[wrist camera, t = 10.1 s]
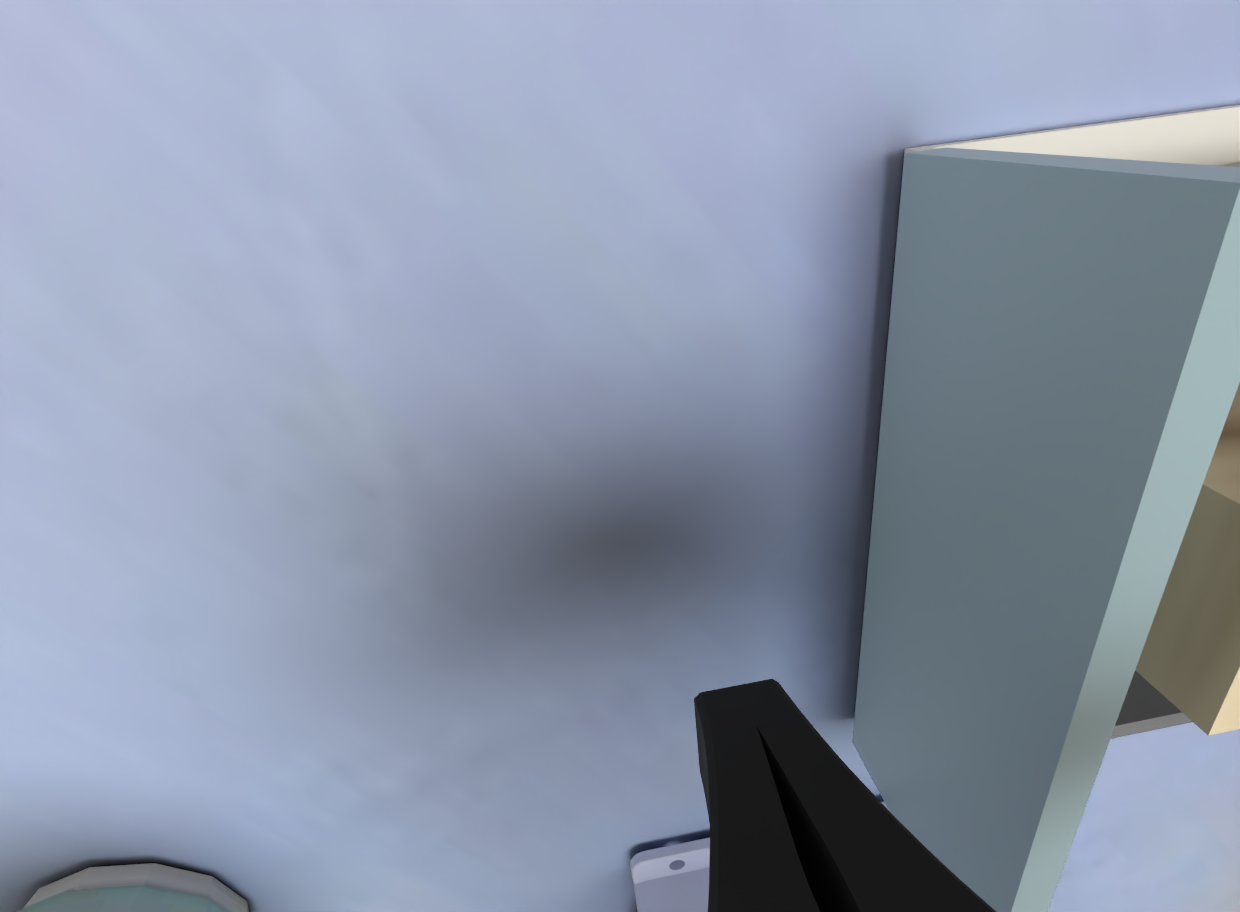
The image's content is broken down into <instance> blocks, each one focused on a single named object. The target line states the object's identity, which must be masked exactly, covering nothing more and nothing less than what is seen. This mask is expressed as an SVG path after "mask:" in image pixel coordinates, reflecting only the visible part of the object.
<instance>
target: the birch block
mask: <svg viewBox="0 0 1240 912" xmlns="http://www.w3.org/2000/svg"><path fill="white" fill-rule="evenodd" d="M1135 671H1137V672H1138V673H1139V674H1140V675H1141V676H1142V677H1143V678H1144V679H1146V680H1147V681H1148V682H1149V683H1150V684H1151V685H1152V686H1153V687H1155V688H1156V689H1157V690H1158V691H1159V692H1160V693H1161V694H1162V695H1163V696H1165V697H1166V698H1167V699H1168V700H1169V701H1170V702H1171V703H1172V704H1174V705H1175V706H1176V707H1177V708H1178V709H1179V710H1180V711H1181V712H1182V713H1184V714H1185V715H1186V716H1187V717H1188V718H1189V719H1190V720H1191V721H1193V722H1194V723H1195V724H1196V725H1197V726H1198V727H1199V728H1200V729H1201V730H1203V731H1204V732H1205V733H1206V734H1207V735H1213V734H1218V733H1222V732H1227V731H1232V730H1237V729H1240V383H1239V386H1238V389H1237V391H1236V394H1235V397H1234V400H1233V402H1232V405H1231V408H1230V411H1229V413H1228V416H1227V419H1226V422H1225V424H1224V427H1223V430H1222V433H1221V435H1220V438H1219V441H1218V444H1217V446H1216V449H1215V452H1214V455H1213V457H1212V460H1211V463H1210V466H1209V468H1208V471H1207V474H1206V477H1205V479H1204V482H1203V485H1202V488H1201V490H1200V493H1199V496H1198V499H1197V501H1196V504H1195V507H1194V510H1193V512H1192V515H1191V518H1190V521H1189V523H1188V526H1187V529H1186V532H1185V534H1184V537H1183V540H1182V543H1181V545H1180V548H1179V551H1178V554H1177V556H1176V559H1175V562H1174V565H1173V567H1172V570H1171V573H1170V576H1169V578H1168V581H1167V584H1166V587H1165V589H1164V592H1163V595H1162V598H1161V600H1160V603H1159V606H1158V609H1157V611H1156V614H1155V617H1154V620H1153V622H1152V625H1151V628H1150V631H1149V633H1148V636H1147V639H1146V642H1145V644H1144V647H1143V650H1142V653H1141V655H1140V658H1139V661H1138V664H1137V666H1136V669H1135Z"/></svg>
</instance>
